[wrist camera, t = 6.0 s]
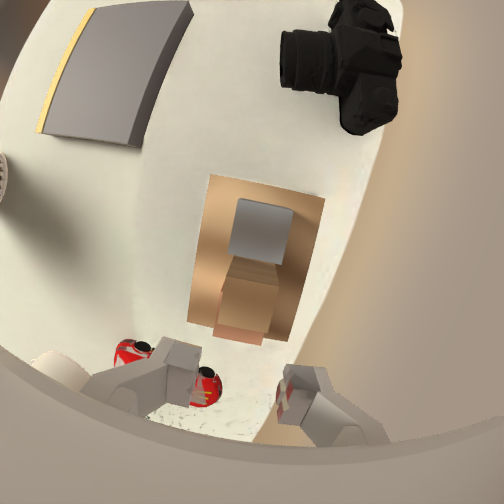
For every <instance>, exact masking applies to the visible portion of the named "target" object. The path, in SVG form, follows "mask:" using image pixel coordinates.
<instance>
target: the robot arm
mask: <svg viewBox="0 0 504 504" xmlns="http://www.w3.org/2000/svg"><path fill="white" fill-rule="evenodd" d="M201 352H202V347H200V346H196V345H192V344H188V343H185V342H181V341H178V340H174V339H171V338H167V337H162V338H161V339H160V341H159V343H158V344H157V346H156V348H155V349H154V351H153V353H152V354H151V356H150V358H149V359H148V358H143V359H140V360H137V361H134V362H131V363H128V364H125V365H122V366H119V367H116V368H112V369H109V370H106V371H103V372H99V373H96V374H93V375H92V377H91V376H90V375H89V374H88V373H87V372H86V371H85V370H84V369H83V368H82V367H81V366H80V365H79V364H78V363H76V362H75V361H74V360H72V359H71V358H69V357H68V356H66V355H64V354H62V353H59V352H56V351H46V352H44V353H43V354H42V355H41V356H40V357H39V358H38V359H32V360H31V366H30V365H29V364H27V363H25V362H24V361H22V360H21V359H19V358H18V357H16V356H15V355H13V354H12V353H10V352H9V351H8V350H6V349H5V348H3V347H2V346H1V345H0V504H504V417H503V416H496V417H493V418H491V419H488V420H485V421H482V422H479V423H477V424H473V425H471V426H467V427H463V428H460V429H457V430H453V431H449V432H445V433H441V434H437V435H432V436H428V437H423V438H417V439H412V440H406V441H399V442H392V443H391V442H390V440H389V438H388V436H387V434H386V432H385V430H384V428H383V426H382V424H381V423H380V422H378V421H377V420H375V419H374V418H372V417H371V416H369V415H368V414H367V413H365V412H364V411H362V410H361V409H360V408H358V407H357V406H355V405H354V404H353V403H351V402H350V401H349V400H347V399H346V398H344V397H343V396H342V395H340V394H339V393H335V391H334V389H333V386H332V384H331V381H330V379H329V376H328V373H327V371H326V369H325V368H324V367H310V366H301V365H293V364H286V366H285V368H284V370H283V377H284V378H283V379H282V380H280V381H279V384H278V387H277V392H276V404H277V405H278V406H279V408H278V410H277V417H278V423H279V424H287V425H296V426H300V427H301V429H302V430H303V431H304V432H305V433H306V434H307V436H308V437H309V438H310V439H311V440H312V441H313V443H314V444H315V445H316V446H317V447H297V446H281V445H269V444H259V443H251V442H243V441H237V440H230V439H224V438H219V437H213V436H208V435H204V434H199V433H194V432H190V431H186V430H182V429H178V428H174V427H171V426H167V425H164V424H160V423H157V422H154V421H151V420H147V419H144V418H143V417H145V416H146V415H148V414H150V413H151V412H153V411H154V410H156V409H158V408H159V407H161V406H162V405H164V404H165V402H166V403H170V404H174V405H178V406H182V407H187V408H189V405H190V401H191V398H192V393H193V389H194V388H195V384H196V380H197V375H198V370H199V361H200V358H201Z"/></svg>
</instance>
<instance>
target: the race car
mask: <svg viewBox="0 0 504 504" xmlns="http://www.w3.org/2000/svg"><path fill="white" fill-rule="evenodd" d="M154 349H155V348H152V350H151V347H150V345H149V344H148V343H146V342H143V341H139V342H136V340H132V339H125V340H123V341H122V342H120V344H118V346H117V348H116V353H115V357H114V368H116V367H119V366H122V365H125V364H128V363H131V362H134V361H137V360H140V359H143V358H148V359H149V358H150V356H151V354H152V353H153V351H154ZM150 350H151V351H150ZM214 376H215V372H214V371H213V370H212V369H211V368H209V367H200V368H199V370H198V375H197V380H196V384H195V388H194V389H193V393H192V398H191V401H190V405H191V406H195V407H207V406H210V405H212V404H214V403H215V402H217V401H218V399H219V398H220V397H221V395H222V382H221V380H220V378H219V376H218V375H217V374H216V376H215V377H214ZM171 405H172V404H171Z"/></svg>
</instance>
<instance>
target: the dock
mask: <svg viewBox="0 0 504 504" xmlns="http://www.w3.org/2000/svg"><path fill="white" fill-rule="evenodd" d="M193 16H194V13H193V11H192V8H191V6H190V4H189V1H149V2H136V3H127V4H119V5H112V6H106V7H100V8H92V9H89V10H88V11H87V13H86V14H85V16H84V18H83V19H82V21H81V23H80V24H79V26H78V28H77V30H76V32H75V33H74V35H73V37H72V39H71V41H70V43H69V45H68V47H67V49H66V51H65V53H64V55H63V57H62V59H61V62H60V64H59V66H58V68H57V71H56V73H55V75H54V78H53V80H52V83H51V85H50V88H49V91H48V93H47V96H46V99H45V102H44V105H43V108H42V111H41V114H40V117H39V121H38V124H37V128H36V131H35V133H41V134H46V135H53V136H62V137H71V138H79V139H87V140H94V141H101V142H107V143H114V144H120V145H126V146H131V147H137V148H141V145H142V142H143V138H144V135H145V132H146V129H147V126H148V122H149V119H150V116H151V113H152V110H153V108H154V105H155V102H156V99H157V96H158V94H159V91H160V88H161V86H162V83H163V81H164V78H165V76H166V73H167V71H168V68H169V66H170V64H171V61H172V59H173V57H174V55H175V52H176V50H177V48H178V46H179V44H180V42H181V40H182V37H183V35H184V33H185V31H186V29H187V27H188V25H189V23H190V21H191V20H192V18H193Z"/></svg>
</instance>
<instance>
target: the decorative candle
mask: <svg viewBox="0 0 504 504" xmlns="http://www.w3.org/2000/svg"><path fill="white" fill-rule="evenodd" d="M7 180H8V166H7V160H6V157H5V155H4V154H3V153H2V152H1V151H0V202H1V200H2V198H3V196H4V194H5V190H6V186H7Z"/></svg>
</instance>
